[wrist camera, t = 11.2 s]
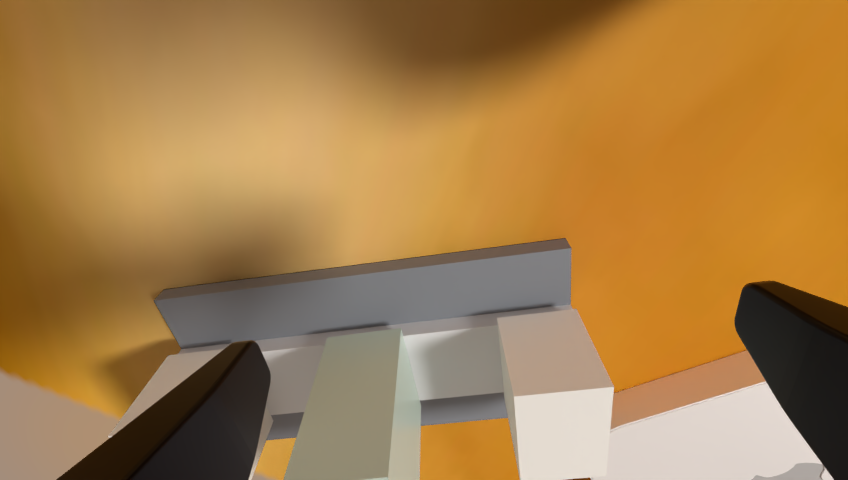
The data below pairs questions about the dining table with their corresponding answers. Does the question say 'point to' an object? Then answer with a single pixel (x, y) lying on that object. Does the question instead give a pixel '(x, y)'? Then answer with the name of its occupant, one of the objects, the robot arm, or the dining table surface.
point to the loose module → (360, 413)
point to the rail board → (420, 345)
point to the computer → (707, 429)
